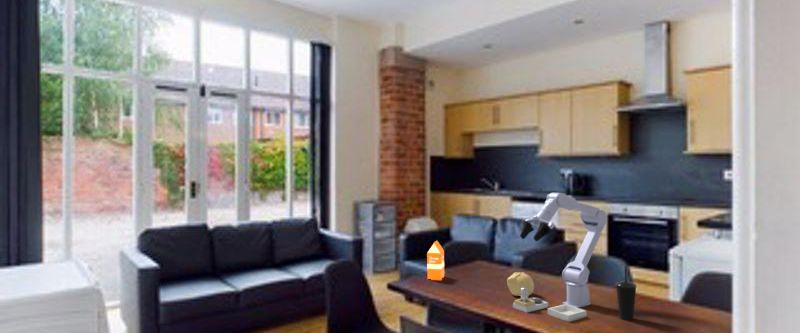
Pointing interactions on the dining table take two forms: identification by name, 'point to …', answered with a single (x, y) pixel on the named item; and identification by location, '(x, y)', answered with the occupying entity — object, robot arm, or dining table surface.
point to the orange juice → (435, 262)
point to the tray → (566, 312)
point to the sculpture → (520, 283)
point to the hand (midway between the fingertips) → (528, 238)
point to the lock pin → (524, 294)
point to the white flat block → (530, 304)
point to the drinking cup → (626, 298)
